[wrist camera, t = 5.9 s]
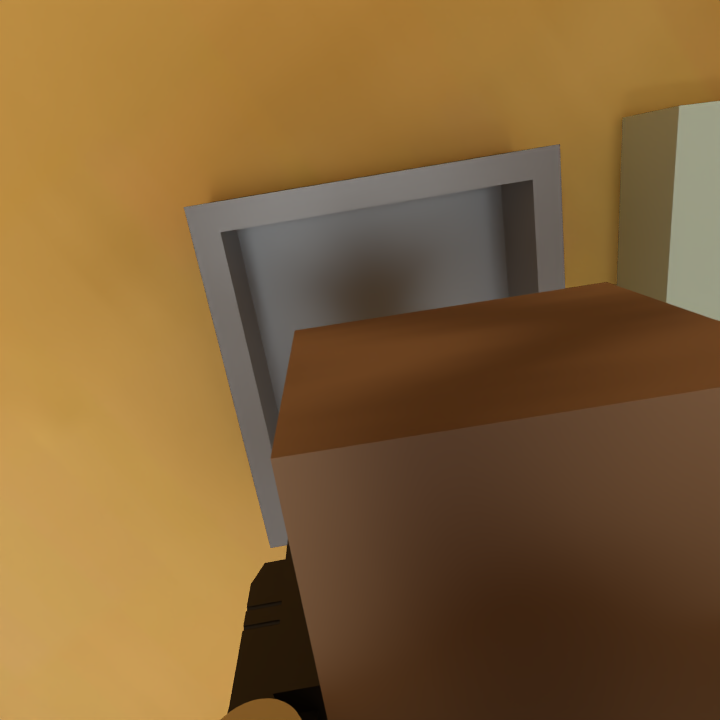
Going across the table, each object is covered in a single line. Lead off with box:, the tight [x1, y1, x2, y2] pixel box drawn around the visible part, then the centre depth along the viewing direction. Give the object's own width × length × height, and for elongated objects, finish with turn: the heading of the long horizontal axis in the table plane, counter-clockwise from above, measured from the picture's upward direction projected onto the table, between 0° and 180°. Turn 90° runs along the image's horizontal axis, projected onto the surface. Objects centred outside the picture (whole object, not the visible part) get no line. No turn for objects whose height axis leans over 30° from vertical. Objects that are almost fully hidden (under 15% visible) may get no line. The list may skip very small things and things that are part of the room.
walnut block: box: [270, 282, 720, 720], centre depth 9 cm, size 6×9×5 cm, turn 8°
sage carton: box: [617, 101, 720, 321], centre depth 22 cm, size 6×9×4 cm, turn 7°
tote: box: [184, 144, 565, 548], centre depth 23 cm, size 13×14×4 cm
